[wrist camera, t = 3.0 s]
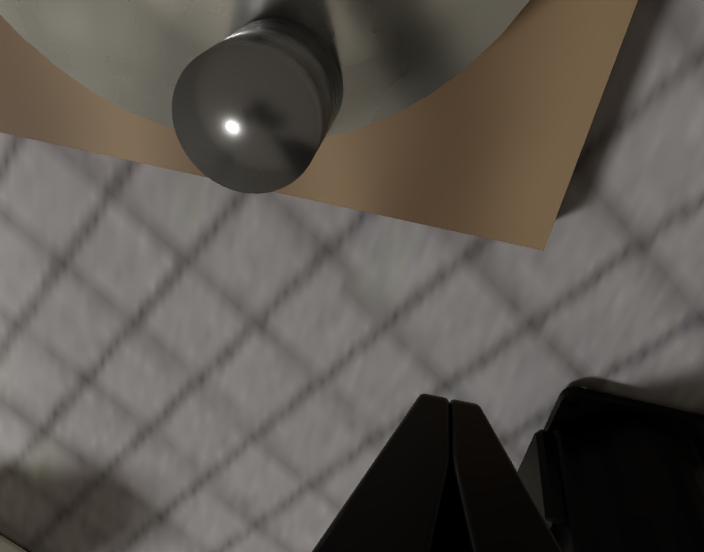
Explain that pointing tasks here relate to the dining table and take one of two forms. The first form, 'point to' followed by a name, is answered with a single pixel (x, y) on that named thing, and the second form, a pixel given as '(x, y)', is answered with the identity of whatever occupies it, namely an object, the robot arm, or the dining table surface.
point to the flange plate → (194, 26)
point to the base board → (396, 127)
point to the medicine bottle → (9, 546)
